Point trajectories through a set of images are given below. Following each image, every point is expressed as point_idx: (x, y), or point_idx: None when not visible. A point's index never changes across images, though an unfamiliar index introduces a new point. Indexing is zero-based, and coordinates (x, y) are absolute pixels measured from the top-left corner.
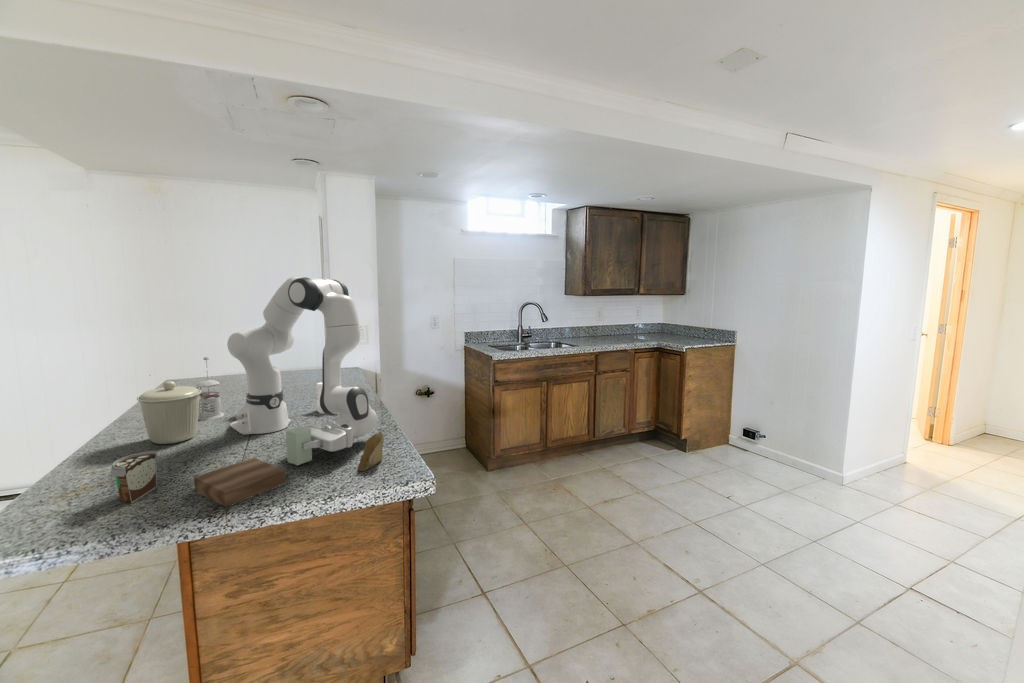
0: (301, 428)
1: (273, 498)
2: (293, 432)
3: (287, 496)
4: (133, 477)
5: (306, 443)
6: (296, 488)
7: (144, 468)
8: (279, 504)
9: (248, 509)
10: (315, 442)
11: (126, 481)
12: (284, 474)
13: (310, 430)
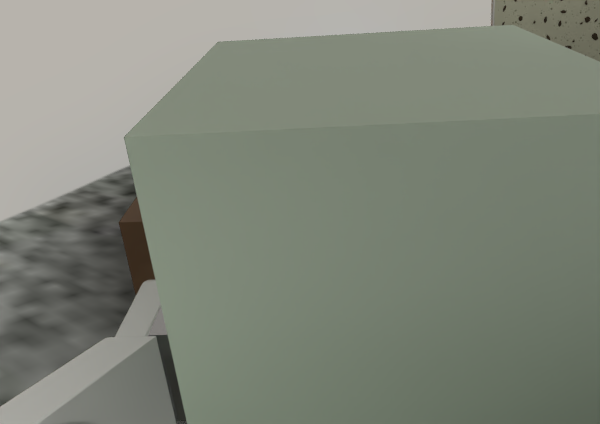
0: (429, 86)
1: (77, 231)
2: (313, 40)
3: (14, 259)
4: (517, 24)
5: (144, 298)
6: (17, 312)
7: (566, 18)
8: (7, 224)
9: (115, 180)
10: (8, 420)
11: (492, 21)
12: (128, 246)
13: (139, 170)
